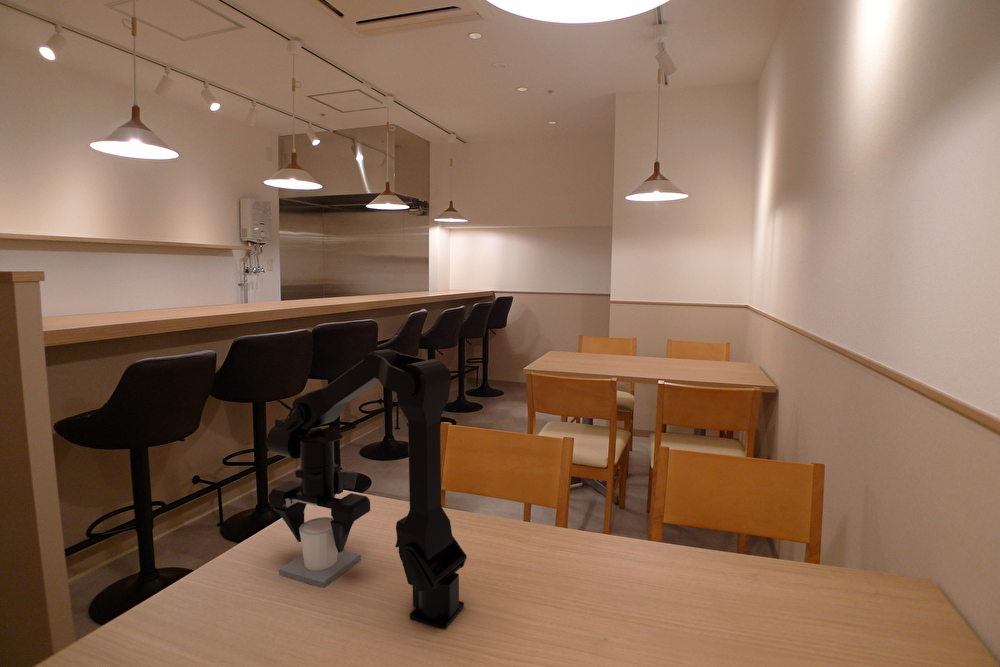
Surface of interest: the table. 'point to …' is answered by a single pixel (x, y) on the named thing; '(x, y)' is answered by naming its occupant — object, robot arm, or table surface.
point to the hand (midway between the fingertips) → (320, 546)
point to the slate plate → (319, 577)
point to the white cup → (318, 543)
